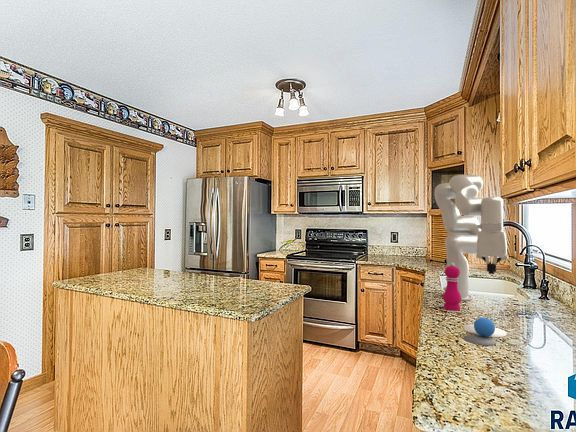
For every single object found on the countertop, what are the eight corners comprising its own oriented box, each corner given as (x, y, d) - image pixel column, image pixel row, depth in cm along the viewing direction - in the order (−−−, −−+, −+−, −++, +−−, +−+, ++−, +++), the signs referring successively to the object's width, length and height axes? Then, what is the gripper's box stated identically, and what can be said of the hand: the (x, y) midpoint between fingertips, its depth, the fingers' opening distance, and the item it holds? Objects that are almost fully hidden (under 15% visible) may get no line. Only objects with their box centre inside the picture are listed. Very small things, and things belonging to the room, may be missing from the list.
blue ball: (468, 319, 109) (470, 327, 112) (481, 334, 104) (482, 342, 108) (485, 311, 108) (486, 320, 112) (499, 326, 104) (499, 334, 107)
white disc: (454, 325, 118) (454, 325, 118) (484, 323, 121) (484, 323, 121) (483, 338, 106) (483, 337, 106) (516, 335, 108) (516, 335, 108)
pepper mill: (457, 306, 145) (457, 261, 145) (464, 311, 138) (464, 263, 138) (440, 306, 146) (440, 261, 146) (446, 310, 139) (446, 263, 139)
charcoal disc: (457, 336, 107) (457, 335, 107) (480, 334, 109) (480, 334, 109) (478, 346, 99) (478, 346, 99) (503, 344, 100) (503, 344, 100)
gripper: (469, 227, 133) (468, 272, 133) (513, 228, 124) (513, 277, 124) (472, 227, 139) (471, 270, 139) (514, 228, 130) (514, 274, 130)
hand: (491, 273), depth 131 cm, fingers closed
